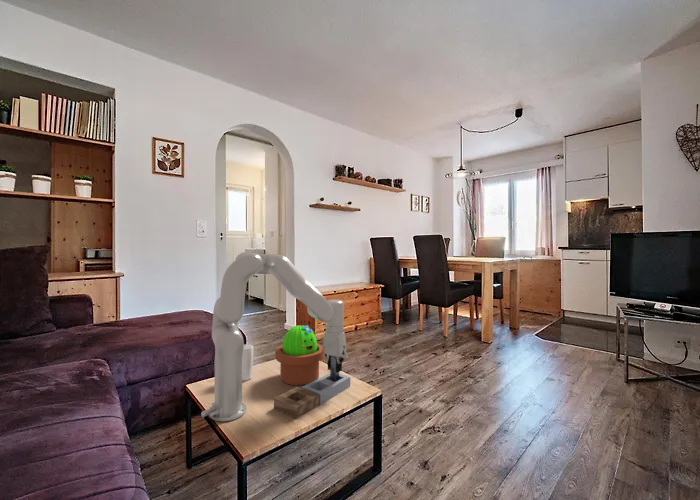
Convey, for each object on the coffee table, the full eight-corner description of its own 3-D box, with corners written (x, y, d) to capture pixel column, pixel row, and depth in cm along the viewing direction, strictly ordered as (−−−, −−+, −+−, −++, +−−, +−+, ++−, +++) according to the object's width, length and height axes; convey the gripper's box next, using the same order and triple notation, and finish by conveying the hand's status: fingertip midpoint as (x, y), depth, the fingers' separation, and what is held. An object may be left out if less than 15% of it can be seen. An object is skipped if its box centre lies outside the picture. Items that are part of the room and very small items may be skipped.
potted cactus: (267, 376, 150) (267, 323, 149) (305, 365, 165) (306, 316, 164) (292, 393, 134) (292, 333, 133) (332, 378, 148) (333, 325, 148)
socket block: (296, 418, 114) (296, 407, 114) (273, 408, 121) (273, 398, 121) (318, 405, 124) (318, 395, 124) (296, 396, 131) (296, 386, 131)
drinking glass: (234, 378, 147) (235, 346, 147) (248, 374, 152) (248, 343, 152) (242, 383, 142) (242, 349, 142) (255, 378, 147) (256, 346, 147)
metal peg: (335, 384, 137) (335, 352, 137) (328, 382, 139) (328, 350, 139) (341, 381, 140) (341, 349, 140) (333, 379, 142) (334, 347, 142)
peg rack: (320, 404, 125) (320, 394, 124) (301, 396, 130) (301, 387, 130) (350, 386, 141) (350, 377, 141) (332, 380, 147) (332, 371, 147)
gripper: (314, 327, 141) (314, 368, 141) (345, 333, 131) (344, 377, 132) (325, 324, 147) (325, 363, 147) (355, 329, 137) (355, 372, 138)
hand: (334, 369), depth 140 cm, fingers closed on metal peg, 4 cm apart
